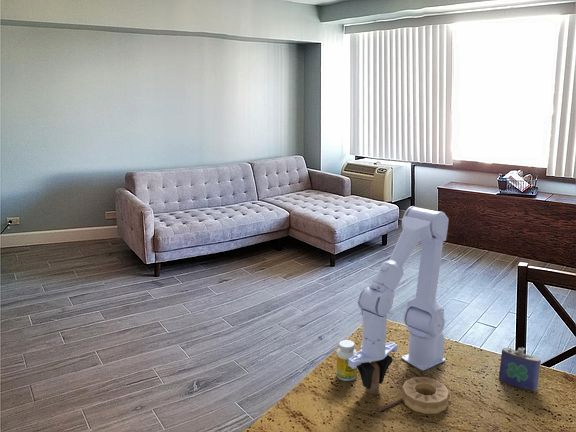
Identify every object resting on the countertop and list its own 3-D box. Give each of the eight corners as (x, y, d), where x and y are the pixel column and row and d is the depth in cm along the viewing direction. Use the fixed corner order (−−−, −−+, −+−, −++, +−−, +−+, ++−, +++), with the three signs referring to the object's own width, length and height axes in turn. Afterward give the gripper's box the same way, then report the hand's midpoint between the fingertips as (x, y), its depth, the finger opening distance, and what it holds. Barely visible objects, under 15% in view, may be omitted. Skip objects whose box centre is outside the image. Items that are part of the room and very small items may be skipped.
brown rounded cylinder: (372, 386, 128) (373, 357, 126) (381, 392, 126) (382, 363, 124) (363, 390, 127) (364, 361, 125) (372, 396, 124) (372, 366, 122)
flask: (538, 389, 126) (542, 351, 123) (535, 395, 124) (539, 356, 121) (500, 377, 132) (503, 340, 129) (496, 382, 129) (500, 344, 127)
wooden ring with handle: (423, 382, 129) (423, 372, 129) (456, 403, 121) (457, 392, 120) (372, 406, 120) (372, 395, 119) (404, 430, 112) (404, 419, 111)
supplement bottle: (347, 368, 137) (348, 336, 134) (361, 377, 132) (361, 344, 130) (332, 374, 134) (332, 342, 131) (345, 384, 130) (345, 350, 127)
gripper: (384, 321, 130) (382, 368, 133) (340, 337, 122) (340, 386, 125) (404, 332, 124) (402, 380, 127) (359, 349, 116) (358, 400, 120)
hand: (372, 384), depth 126 cm, fingers open, 3 cm apart
